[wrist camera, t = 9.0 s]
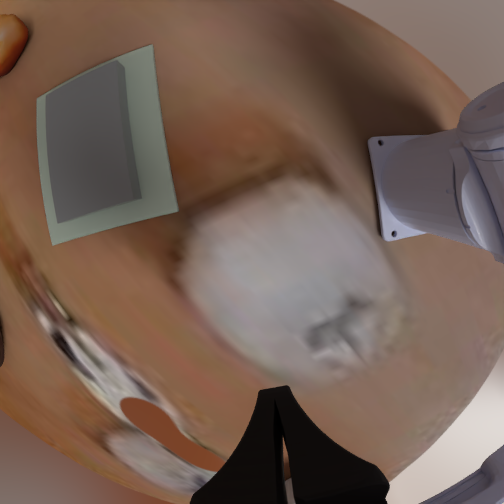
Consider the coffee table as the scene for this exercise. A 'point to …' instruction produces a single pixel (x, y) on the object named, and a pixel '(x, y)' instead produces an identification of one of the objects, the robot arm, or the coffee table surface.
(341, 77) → the coffee table surface
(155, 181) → the felt mat
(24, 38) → the fruit
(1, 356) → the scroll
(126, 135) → the slate tile
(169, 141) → the coffee table surface
